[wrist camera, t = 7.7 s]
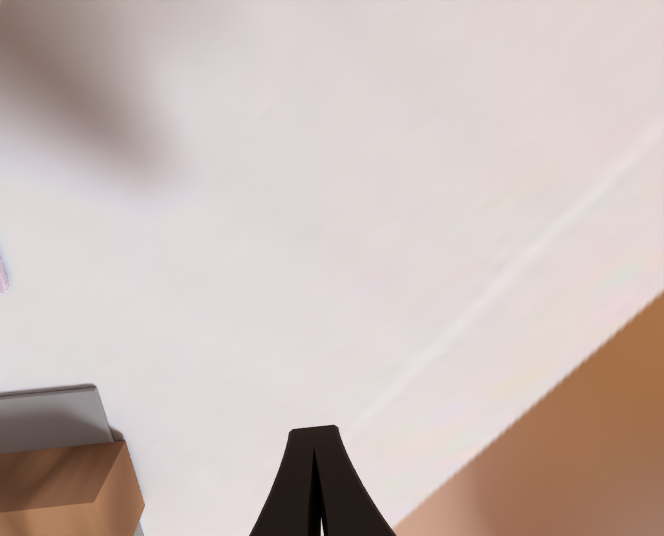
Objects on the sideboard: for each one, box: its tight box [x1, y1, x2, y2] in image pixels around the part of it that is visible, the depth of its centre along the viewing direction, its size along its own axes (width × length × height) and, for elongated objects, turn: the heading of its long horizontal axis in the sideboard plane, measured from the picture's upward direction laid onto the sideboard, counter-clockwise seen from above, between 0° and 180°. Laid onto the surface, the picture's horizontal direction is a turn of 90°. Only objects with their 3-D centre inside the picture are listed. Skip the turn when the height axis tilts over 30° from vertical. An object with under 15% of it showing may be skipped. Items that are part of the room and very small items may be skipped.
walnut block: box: [0, 441, 145, 536], centre depth 23 cm, size 4×5×8 cm
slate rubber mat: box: [0, 387, 144, 536], centre depth 25 cm, size 11×12×1 cm
